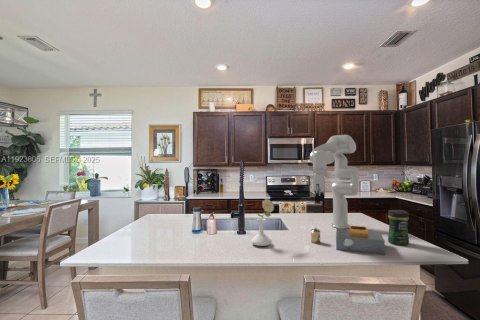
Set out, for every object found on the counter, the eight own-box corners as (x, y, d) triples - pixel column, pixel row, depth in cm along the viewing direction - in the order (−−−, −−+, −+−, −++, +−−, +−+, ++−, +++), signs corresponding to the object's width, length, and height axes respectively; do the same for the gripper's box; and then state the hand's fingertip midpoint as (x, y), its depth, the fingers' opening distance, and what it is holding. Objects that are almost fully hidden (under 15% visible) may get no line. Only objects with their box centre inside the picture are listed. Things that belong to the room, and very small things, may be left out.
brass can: (311, 240, 147) (311, 226, 147) (320, 241, 145) (320, 227, 145) (310, 243, 142) (310, 228, 143) (320, 244, 141) (319, 229, 141)
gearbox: (336, 239, 148) (336, 222, 148) (379, 244, 140) (379, 225, 140) (336, 250, 131) (336, 230, 131) (385, 255, 123) (384, 234, 123)
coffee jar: (394, 245, 137) (394, 211, 137) (385, 241, 145) (385, 208, 145) (412, 245, 137) (411, 211, 138) (402, 241, 145) (401, 208, 146)
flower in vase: (254, 248, 134) (254, 201, 134) (248, 242, 145) (248, 198, 145) (277, 246, 137) (277, 199, 137) (269, 240, 148) (269, 197, 148)
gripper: (316, 172, 156) (316, 200, 155) (309, 171, 141) (309, 203, 141) (329, 172, 153) (329, 201, 152) (323, 172, 138) (323, 204, 137)
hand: (319, 202), depth 146 cm, fingers open, 9 cm apart
